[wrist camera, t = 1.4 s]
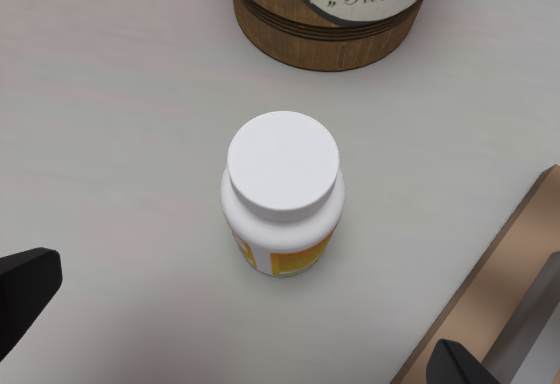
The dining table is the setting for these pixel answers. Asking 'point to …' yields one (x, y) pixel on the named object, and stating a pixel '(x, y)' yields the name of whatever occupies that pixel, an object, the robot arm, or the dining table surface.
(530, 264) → the collar board
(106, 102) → the dining table surface
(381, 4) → the wooden container
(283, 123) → the supplement bottle
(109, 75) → the dining table surface
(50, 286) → the robot arm
